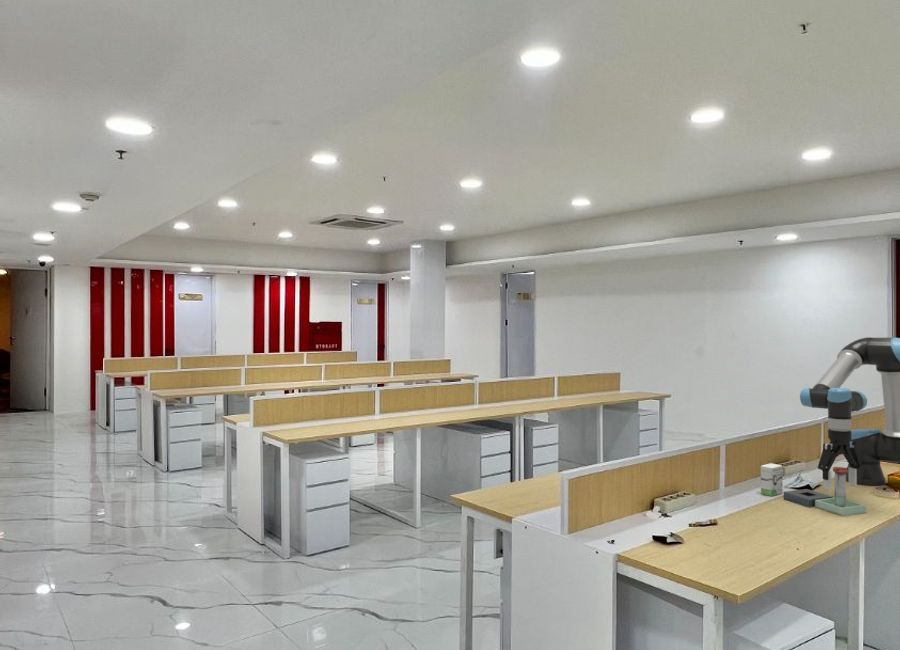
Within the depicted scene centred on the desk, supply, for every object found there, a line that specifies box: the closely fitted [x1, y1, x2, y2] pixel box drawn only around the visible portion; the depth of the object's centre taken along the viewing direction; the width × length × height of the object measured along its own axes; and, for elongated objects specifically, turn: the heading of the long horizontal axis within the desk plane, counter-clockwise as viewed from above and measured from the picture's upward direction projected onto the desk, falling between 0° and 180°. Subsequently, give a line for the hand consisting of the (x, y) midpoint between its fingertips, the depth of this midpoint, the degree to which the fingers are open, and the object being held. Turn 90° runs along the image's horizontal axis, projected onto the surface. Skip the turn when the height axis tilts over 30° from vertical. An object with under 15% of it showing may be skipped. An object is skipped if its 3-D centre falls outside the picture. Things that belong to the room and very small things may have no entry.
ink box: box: [760, 462, 784, 497], centre depth 261 cm, size 9×5×12 cm, turn 124°
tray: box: [814, 497, 867, 517], centre depth 238 cm, size 12×12×3 cm
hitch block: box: [783, 488, 834, 508], centre depth 249 cm, size 12×12×3 cm
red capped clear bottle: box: [832, 466, 848, 508], centre depth 238 cm, size 5×5×15 cm
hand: (840, 486), depth 238 cm, fingers open, 12 cm apart
